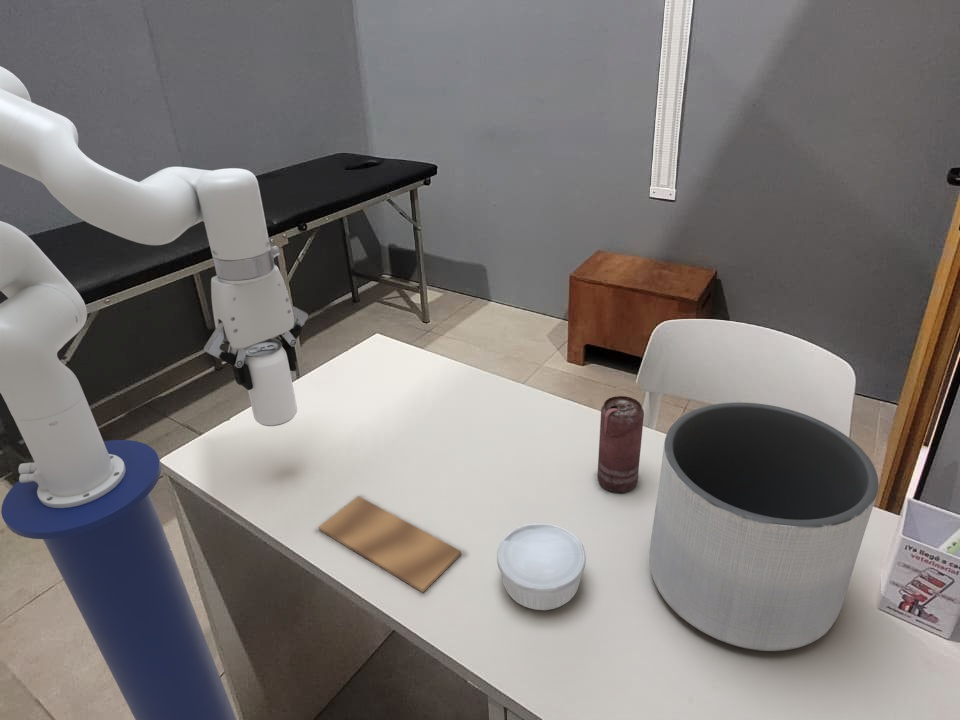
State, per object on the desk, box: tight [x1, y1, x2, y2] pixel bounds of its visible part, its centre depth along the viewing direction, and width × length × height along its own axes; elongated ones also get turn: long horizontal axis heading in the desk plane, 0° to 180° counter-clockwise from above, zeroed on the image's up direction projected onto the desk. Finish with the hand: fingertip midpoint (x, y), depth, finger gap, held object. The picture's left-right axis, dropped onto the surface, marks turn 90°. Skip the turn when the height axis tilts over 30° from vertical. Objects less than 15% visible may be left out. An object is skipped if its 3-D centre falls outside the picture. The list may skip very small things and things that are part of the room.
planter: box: [649, 402, 879, 652], centre depth 78 cm, size 23×23×20 cm
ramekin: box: [496, 522, 587, 611], centre depth 82 cm, size 11×11×5 cm
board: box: [318, 496, 462, 593], centre depth 91 cm, size 20×8×1 cm, turn 53°
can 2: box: [596, 395, 645, 494], centre depth 97 cm, size 6×6×14 cm
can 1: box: [244, 338, 298, 427], centre depth 97 cm, size 6×6×12 cm
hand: (268, 376), depth 97 cm, fingers closed on can 1, 6 cm apart
